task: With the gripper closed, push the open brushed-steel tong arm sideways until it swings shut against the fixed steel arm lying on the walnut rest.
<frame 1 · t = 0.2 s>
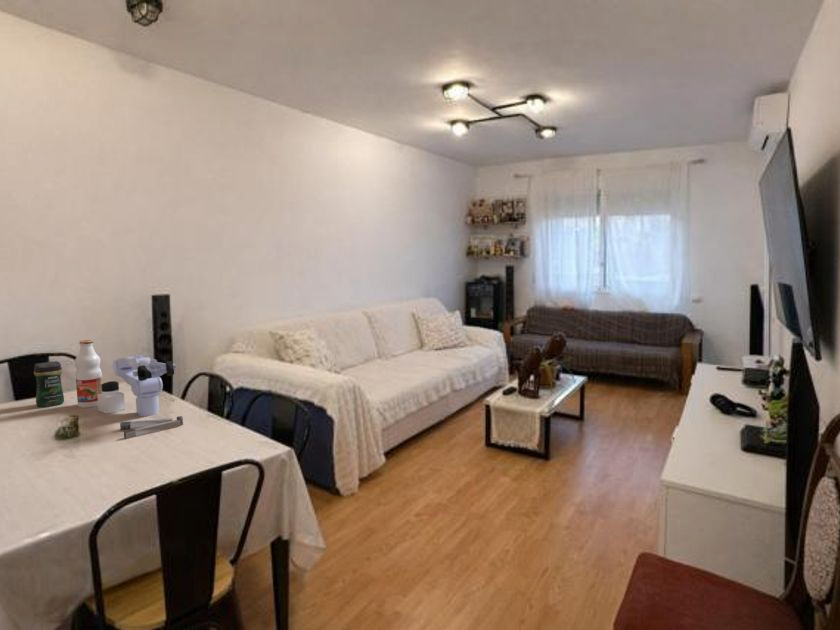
hand: (161, 373, 182), 21 cm above the table, tool horizontal, fingers open, 7 cm apart
medicine bottle: (111, 410, 207), on the table
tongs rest: (150, 432, 180), on the table
fruit juice: (91, 405, 214), on the table
hinged tong arm: (147, 424, 182), point 3 cm above the table, hinge at -30.0°
coffee jar: (50, 405, 214), on the table
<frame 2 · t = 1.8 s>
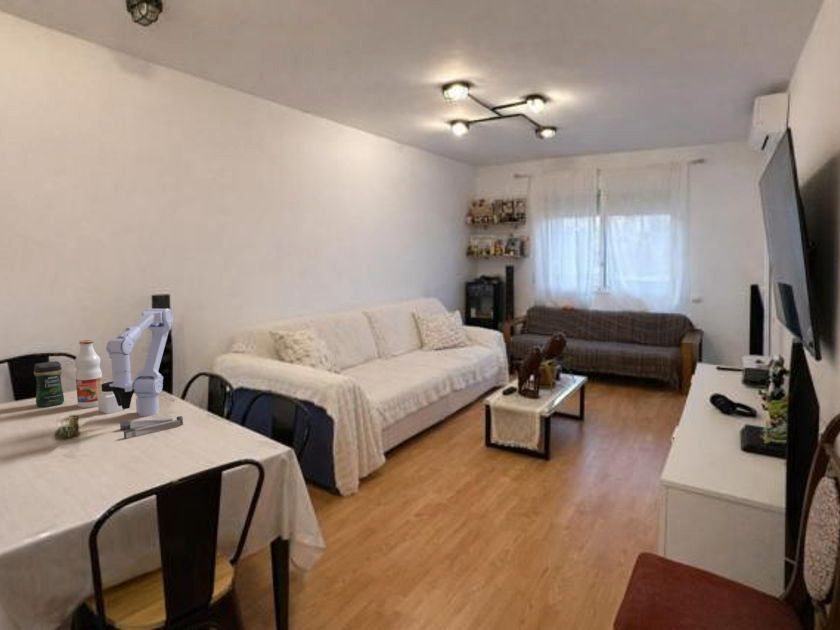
hand: (123, 407, 183), 8 cm above the table, tool pointing down, fingers open, 5 cm apart
nothing on the table moved.
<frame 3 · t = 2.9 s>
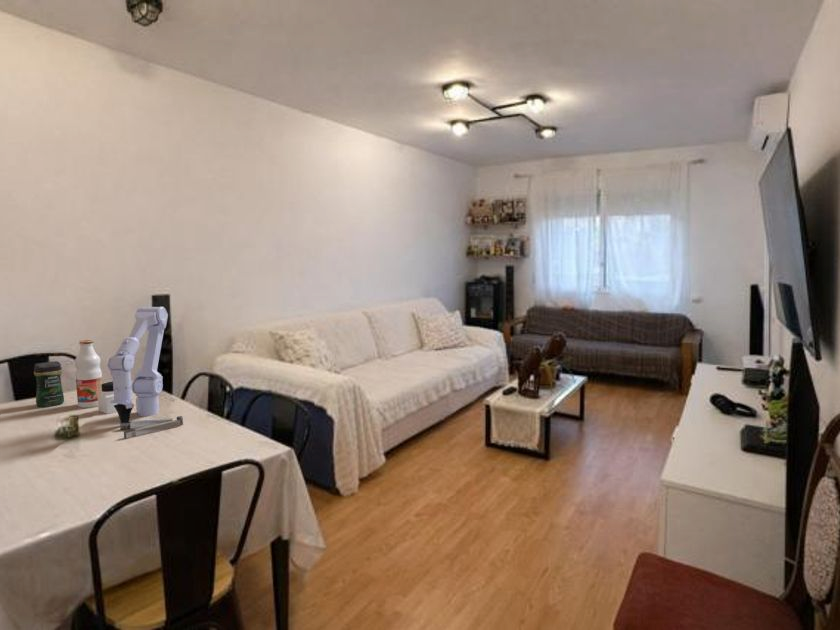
hand: (124, 423, 184), 2 cm above the table, tool pointing down, fingers closed
nothing on the table moved.
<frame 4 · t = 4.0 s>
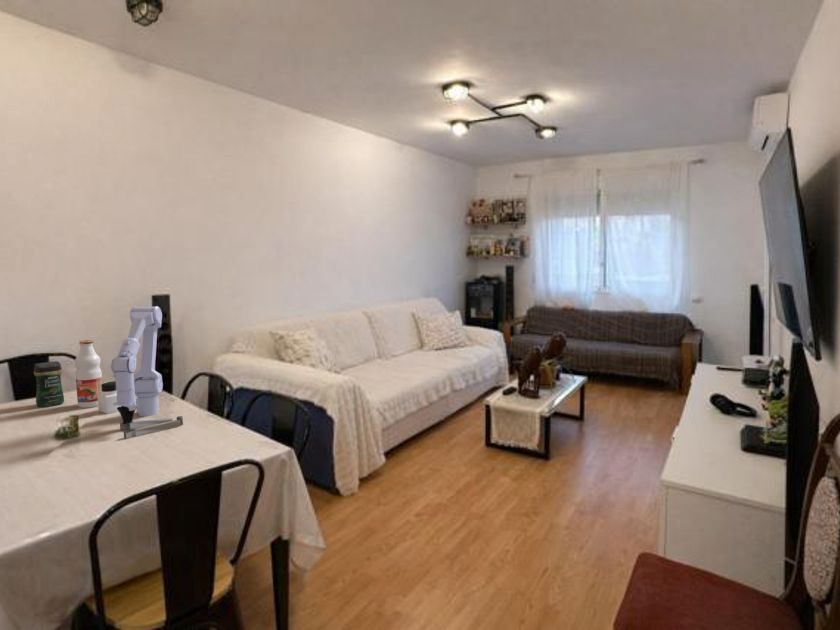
hand: (127, 425, 182), 2 cm above the table, tool pointing down, fingers closed
hinged tong arm: (146, 424, 182), point 3 cm above the table, hinge at -28.4°, touching gripper
everything else where it was.
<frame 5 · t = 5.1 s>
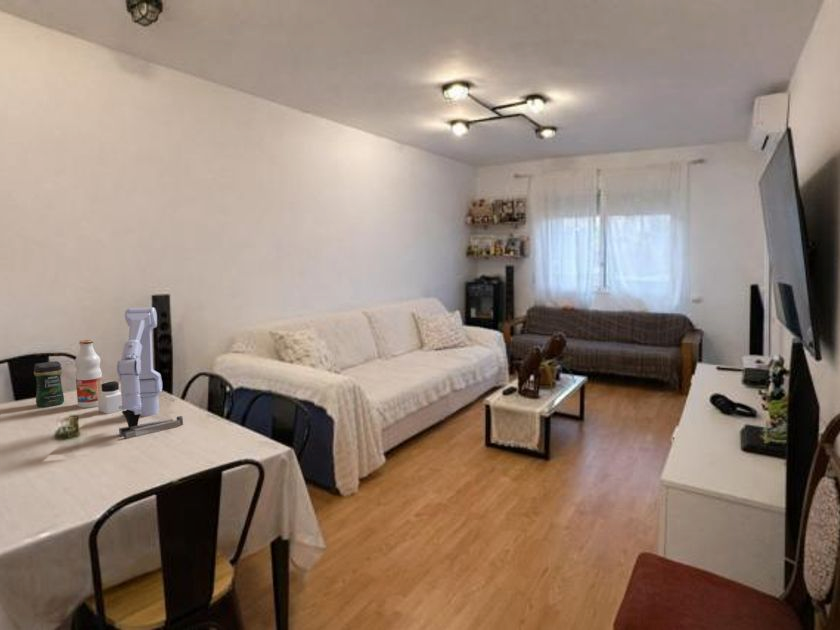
hand: (133, 429, 177), 2 cm above the table, tool pointing down, fingers closed
hinged tong arm: (146, 427, 179), point 3 cm above the table, hinge at -6.9°, touching gripper
everything else where it was.
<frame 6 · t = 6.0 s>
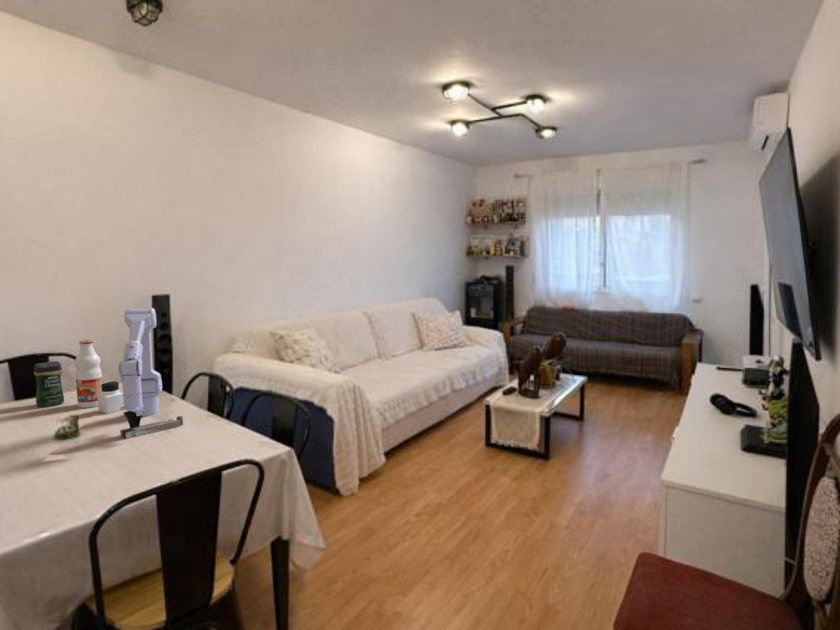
hand: (134, 430, 176), 2 cm above the table, tool pointing down, fingers closed
hinged tong arm: (147, 428, 178), point 3 cm above the table, hinge at 0.6°, touching gripper
everything else where it was.
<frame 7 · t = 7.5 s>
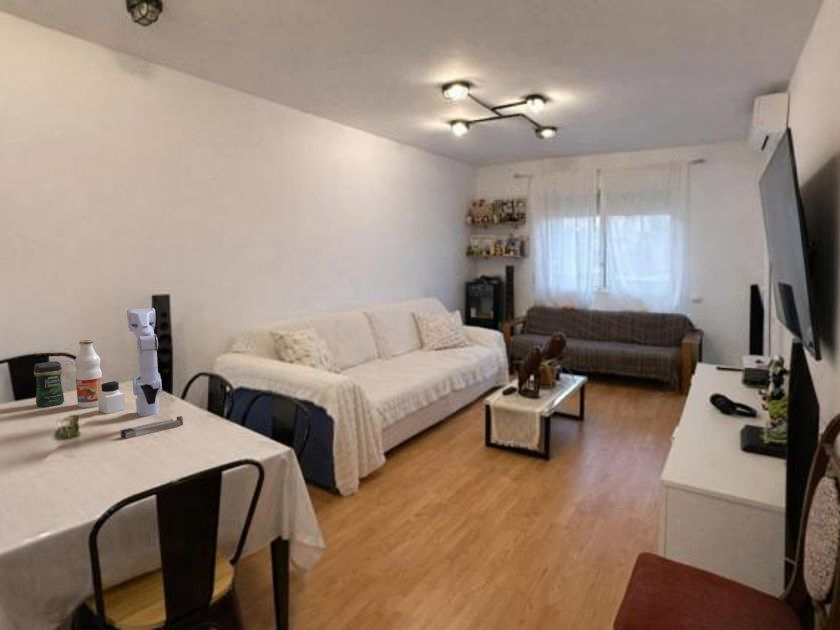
hand: (151, 403, 185), 9 cm above the table, tool pointing down, fingers closed
hinged tong arm: (147, 428, 178), point 3 cm above the table, hinge at 0.6°
everything else where it was.
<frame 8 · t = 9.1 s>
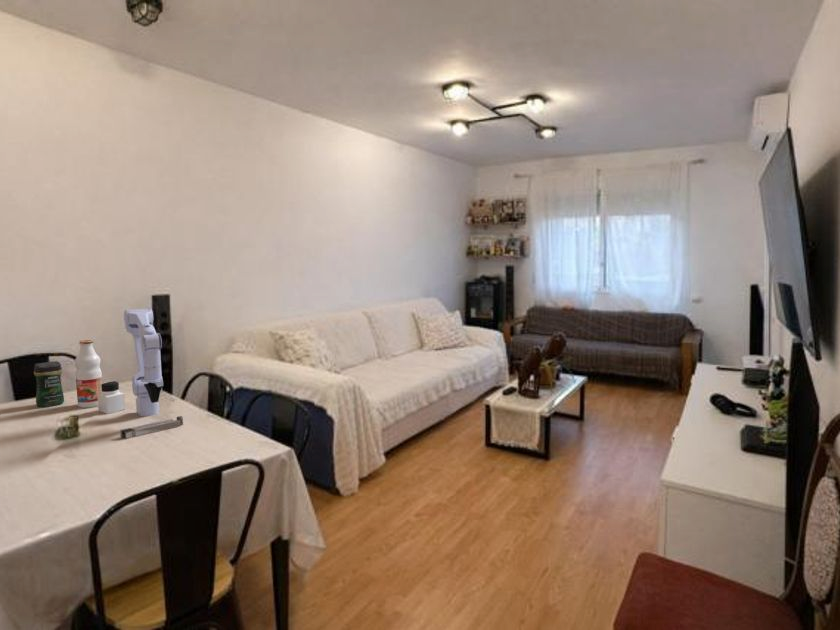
hand: (154, 402, 186), 9 cm above the table, tool pointing down, fingers closed
nothing on the table moved.
at the end: hinged tong arm at +1° (first picture: -30°) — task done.
